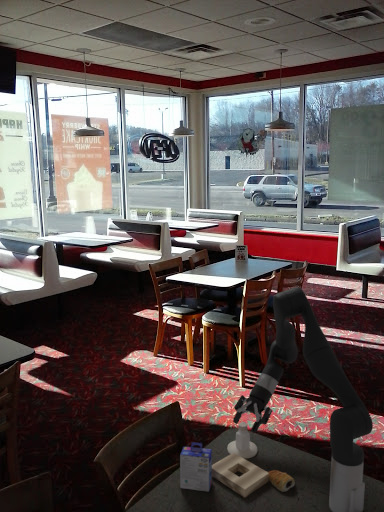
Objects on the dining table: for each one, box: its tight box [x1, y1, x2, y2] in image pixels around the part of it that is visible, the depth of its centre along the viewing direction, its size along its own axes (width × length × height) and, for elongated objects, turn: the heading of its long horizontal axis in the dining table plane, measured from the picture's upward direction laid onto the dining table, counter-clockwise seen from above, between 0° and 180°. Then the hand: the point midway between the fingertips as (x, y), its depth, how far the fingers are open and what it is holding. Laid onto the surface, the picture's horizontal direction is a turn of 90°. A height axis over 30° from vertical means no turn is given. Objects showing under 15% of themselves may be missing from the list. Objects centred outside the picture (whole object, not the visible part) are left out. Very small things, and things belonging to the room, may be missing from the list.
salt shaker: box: [235, 421, 251, 451], centre depth 182 cm, size 4×4×10 cm
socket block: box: [212, 453, 270, 498], centre depth 167 cm, size 16×12×3 cm
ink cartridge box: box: [179, 441, 213, 492], centre depth 162 cm, size 10×6×14 cm, turn 78°
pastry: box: [267, 469, 296, 493], centre depth 164 cm, size 9×7×4 cm
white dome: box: [226, 439, 258, 460], centre depth 183 cm, size 11×11×1 cm
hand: (243, 427), depth 181 cm, fingers open, 8 cm apart
